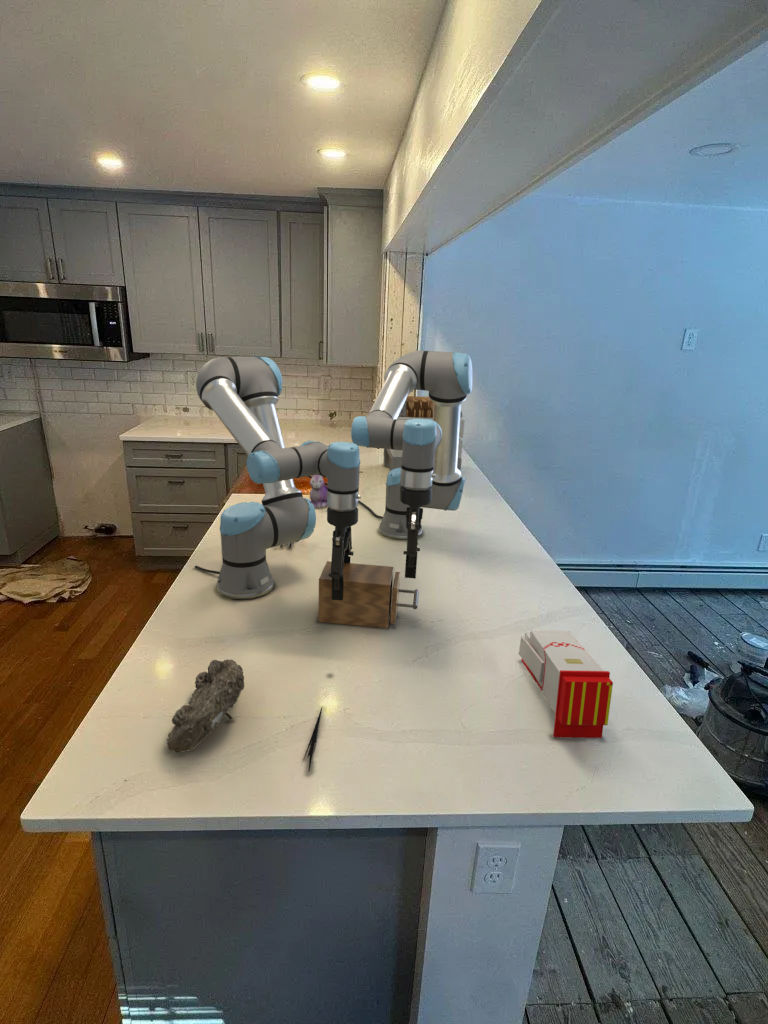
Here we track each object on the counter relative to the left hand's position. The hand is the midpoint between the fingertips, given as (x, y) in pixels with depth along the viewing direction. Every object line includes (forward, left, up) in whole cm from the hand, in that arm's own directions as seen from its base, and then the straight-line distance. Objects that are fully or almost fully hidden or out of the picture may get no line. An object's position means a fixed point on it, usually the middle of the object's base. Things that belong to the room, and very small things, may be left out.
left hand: (341, 588), depth 144 cm
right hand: (+17, +5, +5) cm, 18 cm away
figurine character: (-36, +34, -7) cm, 50 cm away
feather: (+14, -38, -7) cm, 41 cm away
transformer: (-25, +137, -7) cm, 139 cm away
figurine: (-45, +72, -7) cm, 85 cm away
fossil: (-5, -46, -7) cm, 46 cm away
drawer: (+9, +3, -6) cm, 11 cm away
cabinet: (+4, +1, -7) cm, 8 cm away
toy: (+55, -9, -7) cm, 56 cm away
